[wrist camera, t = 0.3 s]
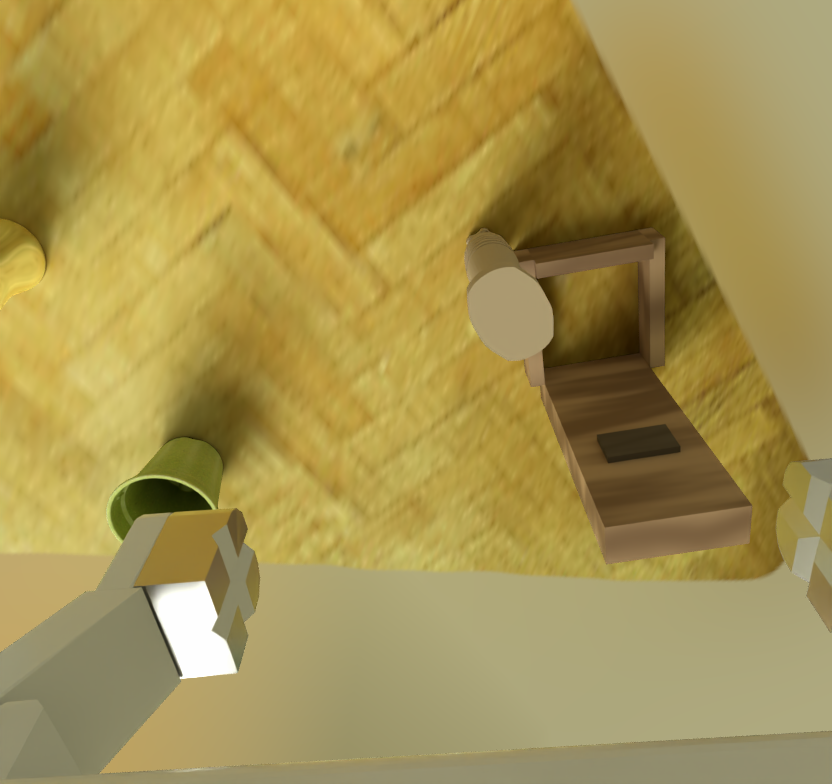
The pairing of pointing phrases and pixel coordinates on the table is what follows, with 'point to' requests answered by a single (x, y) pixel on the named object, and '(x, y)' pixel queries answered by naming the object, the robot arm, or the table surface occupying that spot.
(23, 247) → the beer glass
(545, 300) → the handle
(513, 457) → the table surface
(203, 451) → the plant pot
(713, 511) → the wooden frame stand
